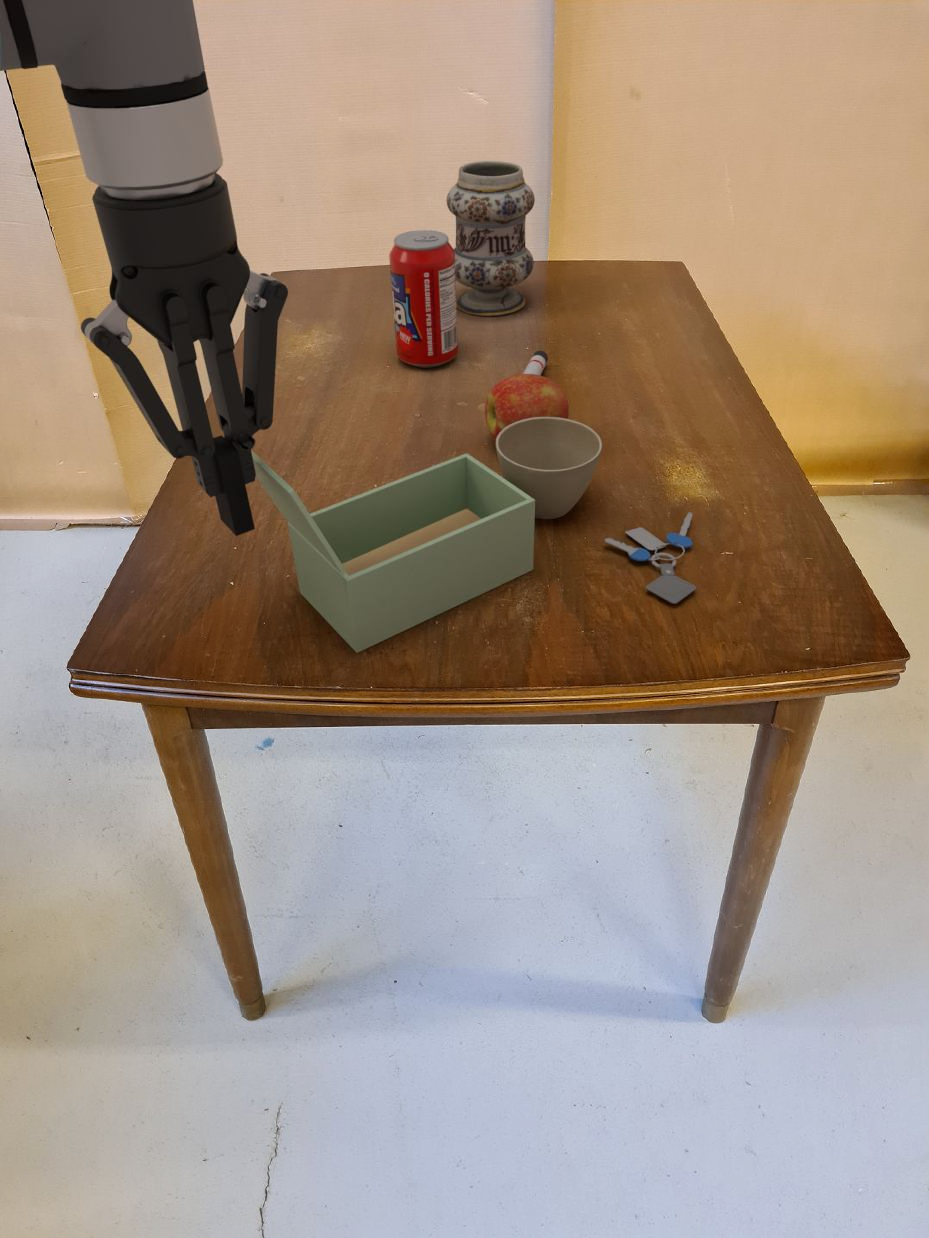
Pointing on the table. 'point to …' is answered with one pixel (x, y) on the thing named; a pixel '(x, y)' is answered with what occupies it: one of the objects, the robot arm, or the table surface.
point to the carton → (416, 550)
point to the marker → (536, 363)
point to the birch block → (411, 541)
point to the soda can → (424, 298)
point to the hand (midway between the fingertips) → (237, 524)
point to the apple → (523, 401)
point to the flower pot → (549, 461)
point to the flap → (294, 510)
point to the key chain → (667, 582)
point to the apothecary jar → (491, 236)
